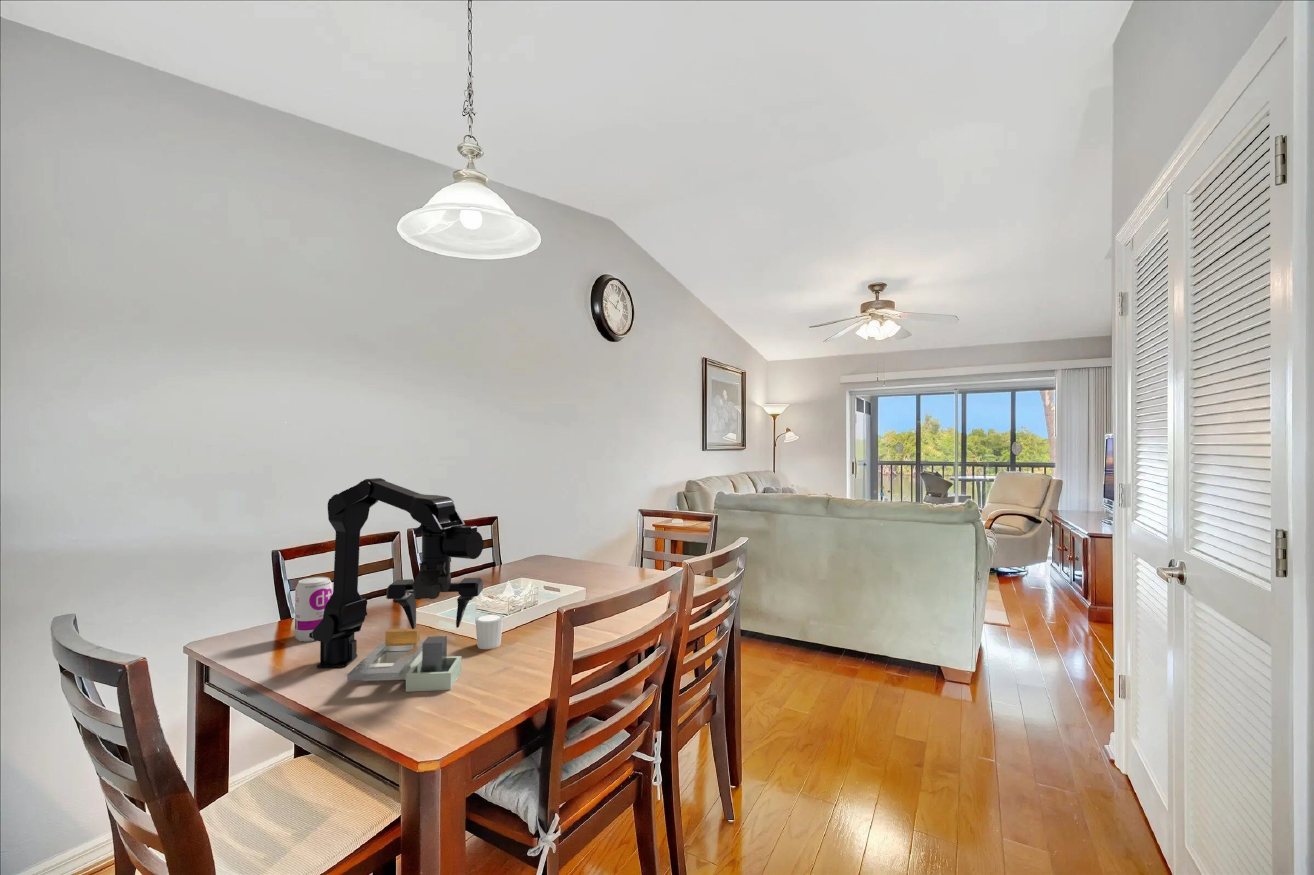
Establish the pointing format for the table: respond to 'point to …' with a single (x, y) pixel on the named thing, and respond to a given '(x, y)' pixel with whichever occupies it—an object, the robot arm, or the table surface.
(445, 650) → the peg
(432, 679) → the open box
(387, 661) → the socket block
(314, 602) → the supplement can
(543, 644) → the table surface
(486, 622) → the white cup
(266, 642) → the table surface
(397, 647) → the plate
